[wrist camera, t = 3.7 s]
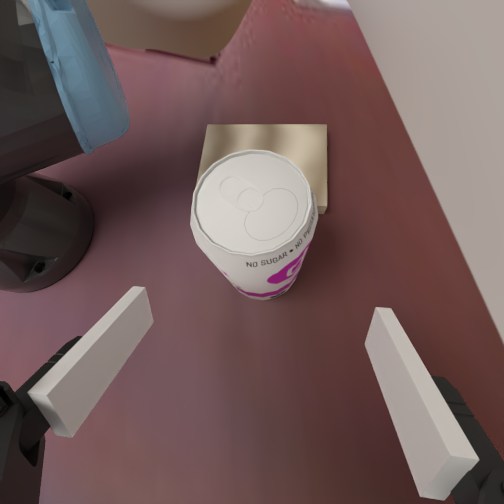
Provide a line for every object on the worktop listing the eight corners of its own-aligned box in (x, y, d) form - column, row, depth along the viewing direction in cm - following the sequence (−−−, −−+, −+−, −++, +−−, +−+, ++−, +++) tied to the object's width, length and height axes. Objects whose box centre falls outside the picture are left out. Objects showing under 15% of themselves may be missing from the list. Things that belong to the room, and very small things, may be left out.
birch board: (197, 209, 31) (192, 201, 29) (211, 135, 35) (207, 124, 33) (323, 214, 29) (327, 206, 28) (323, 136, 33) (326, 124, 31)
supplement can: (311, 258, 28) (351, 183, 14) (268, 316, 26) (261, 298, 12) (257, 221, 30) (241, 121, 16) (214, 272, 28) (153, 212, 14)
